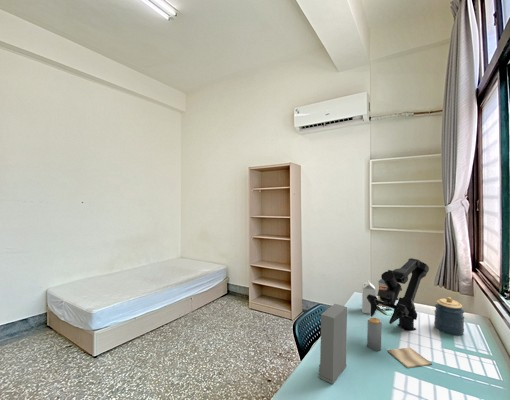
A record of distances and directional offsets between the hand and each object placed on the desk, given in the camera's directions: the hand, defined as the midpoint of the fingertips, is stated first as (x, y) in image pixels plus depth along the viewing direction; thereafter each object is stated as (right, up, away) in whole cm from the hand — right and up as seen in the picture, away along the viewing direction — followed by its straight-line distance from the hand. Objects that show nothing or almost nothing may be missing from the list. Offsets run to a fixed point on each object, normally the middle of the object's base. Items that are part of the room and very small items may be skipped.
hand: (380, 319), depth 127 cm
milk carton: (+10, -12, +37) cm, 40 cm away
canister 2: (+44, -12, +15) cm, 48 cm away
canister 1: (-4, -12, -3) cm, 13 cm away
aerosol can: (+22, -12, +42) cm, 49 cm away
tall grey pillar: (-29, -12, -21) cm, 38 cm away
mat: (+7, -12, -11) cm, 18 cm away
